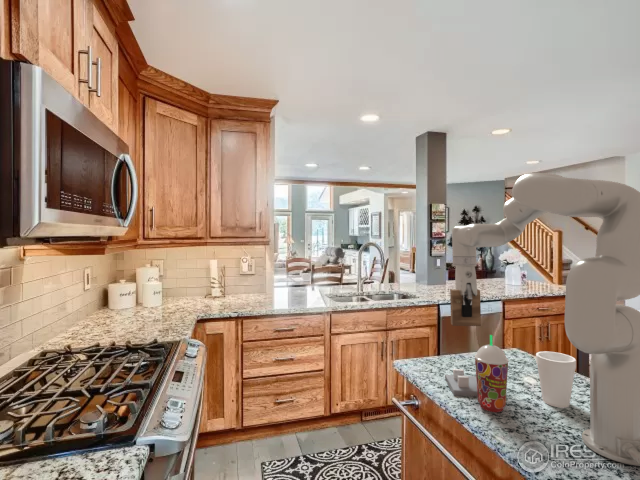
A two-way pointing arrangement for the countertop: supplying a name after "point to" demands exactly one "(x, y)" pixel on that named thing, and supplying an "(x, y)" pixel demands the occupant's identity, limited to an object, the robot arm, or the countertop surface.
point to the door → (457, 309)
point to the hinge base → (462, 383)
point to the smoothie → (491, 377)
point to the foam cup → (556, 377)
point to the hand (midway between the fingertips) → (465, 315)
